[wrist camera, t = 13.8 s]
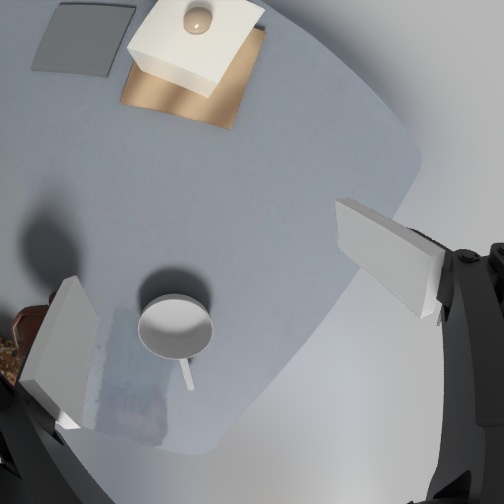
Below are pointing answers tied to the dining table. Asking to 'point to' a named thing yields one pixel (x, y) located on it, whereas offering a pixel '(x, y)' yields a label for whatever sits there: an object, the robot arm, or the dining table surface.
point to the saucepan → (176, 329)
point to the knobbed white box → (193, 40)
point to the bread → (9, 360)
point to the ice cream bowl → (28, 326)
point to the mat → (82, 39)
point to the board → (191, 103)
